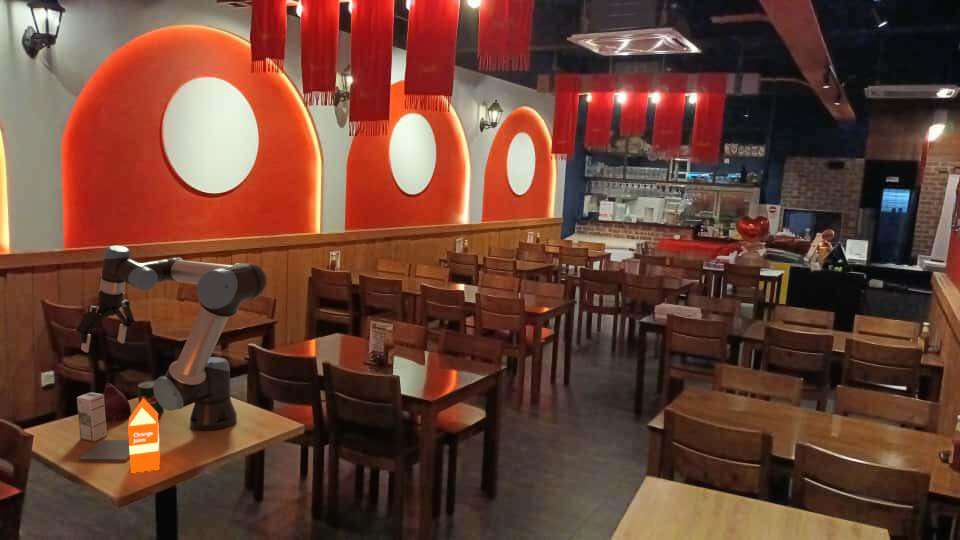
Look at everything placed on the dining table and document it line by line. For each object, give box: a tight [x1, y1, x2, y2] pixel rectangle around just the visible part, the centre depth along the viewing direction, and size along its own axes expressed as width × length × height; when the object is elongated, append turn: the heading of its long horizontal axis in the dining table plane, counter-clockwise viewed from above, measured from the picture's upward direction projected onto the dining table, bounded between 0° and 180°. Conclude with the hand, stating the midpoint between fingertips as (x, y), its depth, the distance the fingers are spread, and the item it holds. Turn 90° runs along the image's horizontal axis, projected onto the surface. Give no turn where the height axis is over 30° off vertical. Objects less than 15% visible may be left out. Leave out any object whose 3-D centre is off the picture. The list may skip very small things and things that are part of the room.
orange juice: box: [127, 398, 161, 474], centre depth 203 cm, size 8×9×20 cm
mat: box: [78, 439, 130, 463], centre depth 213 cm, size 14×14×1 cm
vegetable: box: [102, 382, 132, 423], centre depth 239 cm, size 10×10×15 cm
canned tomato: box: [137, 380, 165, 416], centre depth 245 cm, size 8×8×11 cm
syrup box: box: [76, 392, 108, 442], centre depth 222 cm, size 6×6×14 cm
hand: (103, 346), depth 236 cm, fingers open, 13 cm apart
